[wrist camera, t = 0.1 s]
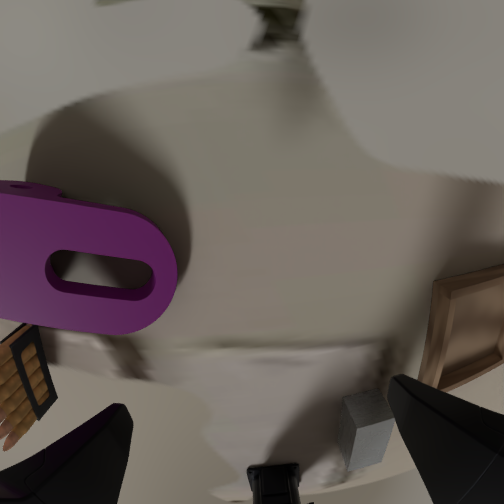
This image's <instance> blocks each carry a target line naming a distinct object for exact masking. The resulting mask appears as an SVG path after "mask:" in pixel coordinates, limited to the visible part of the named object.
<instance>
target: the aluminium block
mask: <svg viewBox="0 0 504 504" xmlns="http://www.w3.org/2000/svg"><path fill="white" fill-rule="evenodd" d="M394 422H395V418H394V415H393V413H392V410H391V408H390V407H389V405H388V404H387V402H386V400H385V399H384V397H383V395H382V394H381V392H380V391H379V389H374V390H370V391H366V392H362V393H358V394H354V395H349V396H345V397H343V401H342V411H341V419H340V428H339V435H338V445H339V448H340V451H341V454H342V457H343V460H344V463H345V466H346V469H347V472H348V471H352V470H356V469H359V468H363V467H366V466H370V465H373V464H376V463H379V462H381V461H382V458H383V456H384V453H385V450H386V447H387V444H388V441H389V438H390V435H391V432H392V429H393V426H394Z"/></svg>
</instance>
